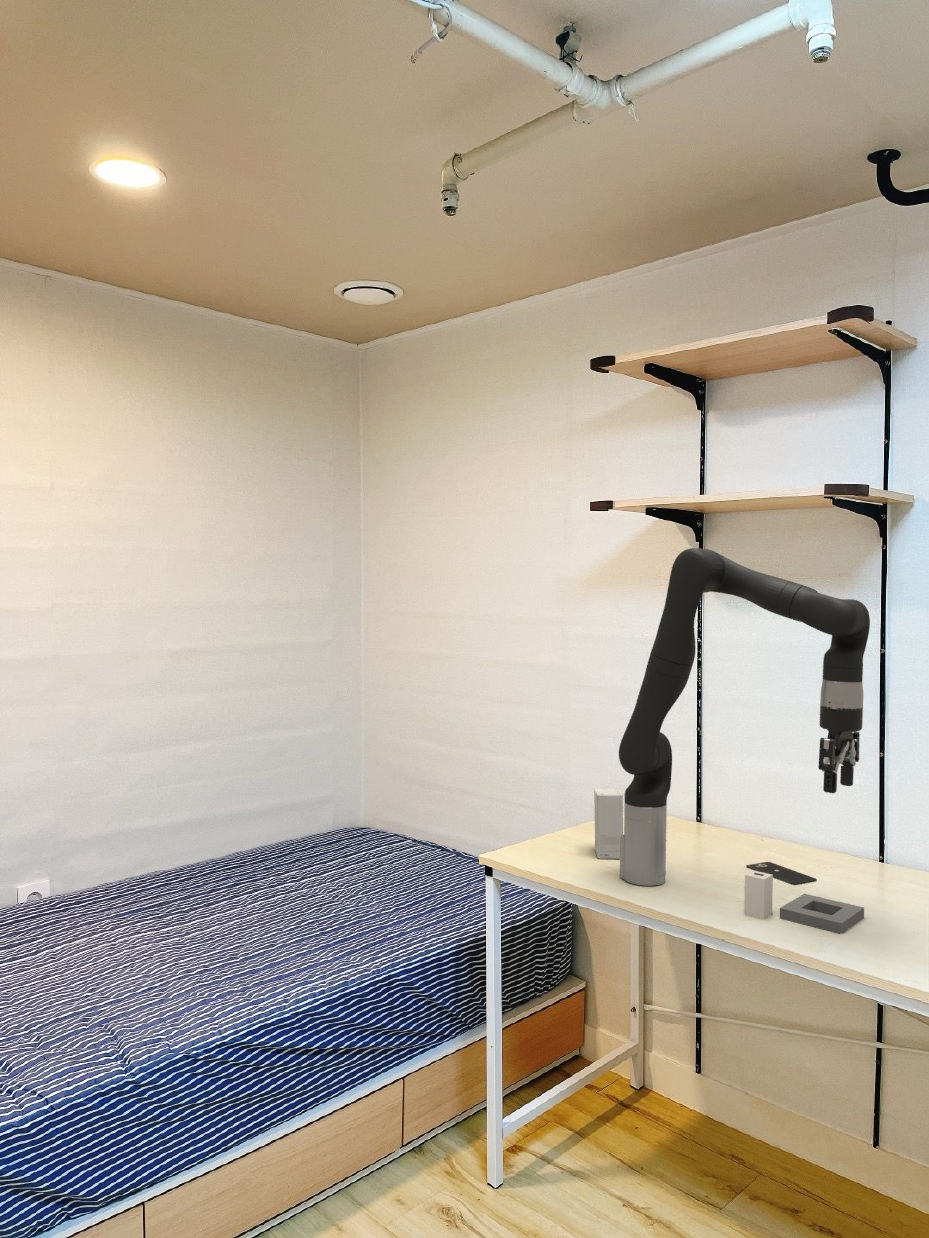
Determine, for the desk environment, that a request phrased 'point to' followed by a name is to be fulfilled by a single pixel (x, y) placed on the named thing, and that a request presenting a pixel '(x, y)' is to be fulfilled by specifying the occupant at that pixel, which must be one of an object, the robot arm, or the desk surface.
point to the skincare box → (608, 822)
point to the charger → (758, 894)
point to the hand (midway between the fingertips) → (838, 788)
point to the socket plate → (836, 921)
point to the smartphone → (782, 873)
